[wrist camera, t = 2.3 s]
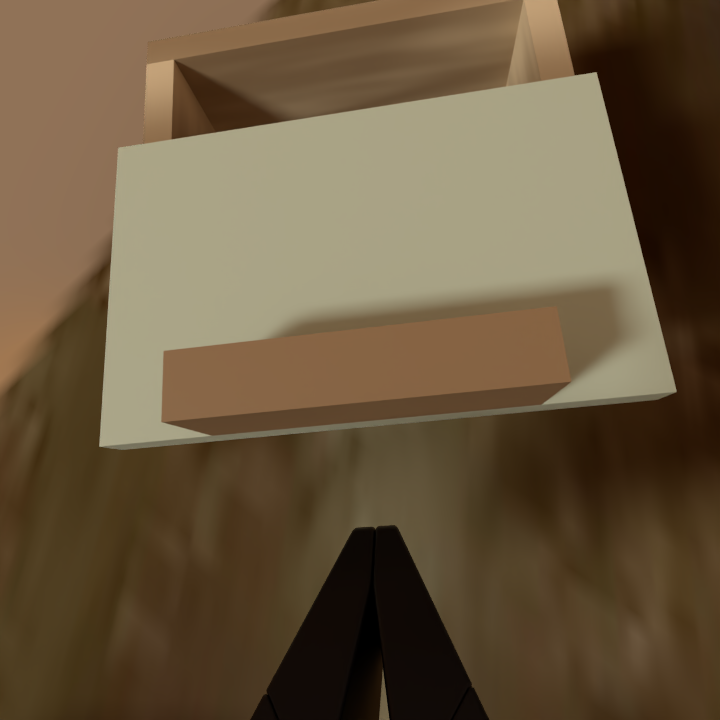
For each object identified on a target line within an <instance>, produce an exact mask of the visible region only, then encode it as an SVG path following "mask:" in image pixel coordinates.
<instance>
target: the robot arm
mask: <svg viewBox="0 0 720 720" xmlns="http://www.w3.org/2000/svg"><path fill="white" fill-rule="evenodd" d="M382 671H384V679H385V687H386V695H387V703H388V711H389V719H390V720H489V718H488V716H487V714H486V712H485V710H484V708H483V706H482V704H481V702H480V700H479V698H478V695H477V693H476V691H475V689H474V688H473V687H472V684H471V681H470V679H469V677H468V675H467V673H466V671H465V669H464V666H463V664H462V662H461V660H460V658H459V656H458V654H457V652H456V650H455V648H454V645H453V643H452V641H451V639H450V637H449V635H448V633H447V631H446V629H445V626H444V624H443V622H442V620H441V618H440V616H439V614H438V612H437V610H436V607H435V605H434V603H433V601H432V599H431V597H430V595H429V593H428V591H427V589H426V586H425V584H424V582H423V580H422V578H421V576H420V574H419V572H418V570H417V567H416V565H415V563H414V561H413V559H412V557H411V555H410V553H409V551H408V548H407V546H406V544H405V542H404V540H403V538H402V536H401V534H400V532H399V530H398V528H397V527H396V526H395V525H390V526H378V527H377V528H376V530H375V528H374V527H360V528H355V529H354V530H353V531H352V533H351V535H350V537H349V538H348V540H347V542H346V544H345V546H344V548H343V549H342V551H341V553H340V555H339V557H338V559H337V561H336V562H335V564H334V566H333V568H332V570H331V572H330V574H329V575H328V577H327V579H326V581H325V583H324V585H323V586H322V588H321V590H320V592H319V594H318V596H317V598H316V599H315V601H314V603H313V605H312V607H311V609H310V611H309V612H308V614H307V616H306V618H305V620H304V622H303V623H302V625H301V627H300V629H299V631H298V633H297V635H296V636H295V638H294V640H293V642H292V644H291V646H290V648H289V649H288V651H287V653H286V655H285V657H284V659H283V660H282V662H281V664H280V666H279V668H278V670H277V672H276V673H275V675H274V677H273V679H272V681H271V683H270V685H269V686H268V688H267V694H268V695H267V694H265V695H263V697H262V699H261V701H260V703H259V704H258V706H257V708H256V710H255V712H254V714H253V716H252V717H251V719H250V720H379V711H380V698H381V684H382Z"/></svg>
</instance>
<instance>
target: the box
mask: <svg viewBox="0 0 720 720" xmlns="http://www.w3.org/2000/svg"><path fill="white" fill-rule="evenodd" d="M147 53H148V54H147V72H146V93H145V94H146V95H145V114H144V116H145V117H144V135H143V144H146V143H153V142H159V141H165V140H172V139H178V138H184V137H191V136H197V135H203V134H210V133H216V132H222V131H228V130H235V129H241V128H247V127H254V126H260V125H266V124H273V123H279V122H285V121H292V120H298V119H304V118H311V117H317V116H323V115H329V114H336V113H342V112H348V111H355V110H361V109H367V108H374V107H380V106H386V105H393V104H399V103H405V102H412V101H418V100H424V99H431V98H437V97H443V96H449V95H456V94H462V93H468V92H475V91H481V90H487V89H494V88H500V87H506V86H513V85H519V84H525V83H532V82H538V81H544V80H551V79H557V78H563V77H569V76H575V74H574V70H573V66H572V62H571V57H570V53H569V49H568V45H567V40H566V36H565V32H564V28H563V23H562V19H561V15H560V11H559V7H558V2H557V0H378V1H372V2H367V3H361V4H356V5H350V6H345V7H339V8H334V9H328V10H322V11H317V12H311V13H306V14H300V15H295V16H289V17H284V18H278V19H272V20H267V21H261V22H256V23H250V24H245V25H239V26H234V27H228V28H223V29H217V30H211V31H207V32H200V33H195V34H189V35H184V36H179V37H172V38H167V39H161V40H156V41H150V42H148V52H147Z"/></svg>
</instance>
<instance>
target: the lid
mask: <svg viewBox="0 0 720 720" xmlns="http://www.w3.org/2000/svg"><path fill="white" fill-rule="evenodd" d="M675 392H677V391H676V387H675V383H674V379H673V375H672V371H671V367H670V363H669V359H668V355H667V351H666V347H665V343H664V339H663V335H662V331H661V327H660V323H659V319H658V315H657V311H656V307H655V303H654V299H653V295H652V291H651V287H650V283H649V279H648V275H647V271H646V267H645V263H644V259H643V255H642V251H641V247H640V243H639V239H638V235H637V231H636V227H635V223H634V219H633V215H632V211H631V207H630V203H629V199H628V195H627V191H626V187H625V183H624V179H623V175H622V172H621V168H620V164H619V160H618V156H617V152H616V148H615V144H614V140H613V136H612V132H611V128H610V124H609V120H608V116H607V112H606V108H605V104H604V100H603V96H602V92H601V88H600V84H599V80H598V76H597V72H595V73H588V74H582V75H576V76H569V77H563V78H557V79H551V80H544V81H538V82H532V83H525V84H519V85H513V86H506V87H500V88H494V89H487V90H481V91H475V92H468V93H462V94H456V95H449V96H443V97H437V98H431V99H424V100H418V101H412V102H405V103H399V104H393V105H386V106H380V107H374V108H367V109H361V110H355V111H348V112H342V113H336V114H329V115H323V116H317V117H311V118H304V119H298V120H292V121H285V122H279V123H273V124H266V125H260V126H254V127H247V128H241V129H235V130H228V131H222V132H216V133H210V134H203V135H197V136H191V137H184V138H178V139H172V140H165V141H159V142H153V143H146V144H140V145H134V146H128V147H121V148H118V161H117V178H116V192H115V208H114V224H113V240H112V256H111V272H110V287H109V303H108V319H107V335H106V351H105V366H104V382H103V398H102V414H101V430H100V446H99V447H106V448H113V449H120V450H125V449H136V448H147V447H157V446H168V445H179V444H189V443H200V442H211V441H222V440H232V439H243V438H254V437H264V436H275V435H286V434H297V433H307V432H318V431H329V430H339V429H350V428H361V427H371V426H382V425H393V424H404V423H414V422H425V421H436V420H446V419H457V418H468V417H478V416H489V415H500V414H511V413H521V412H532V411H543V410H553V409H564V408H575V407H585V406H596V405H607V404H618V403H628V402H639V401H650V400H658V399H660V398H663V397H665V396H668V395H670V394H673V393H675Z"/></svg>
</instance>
